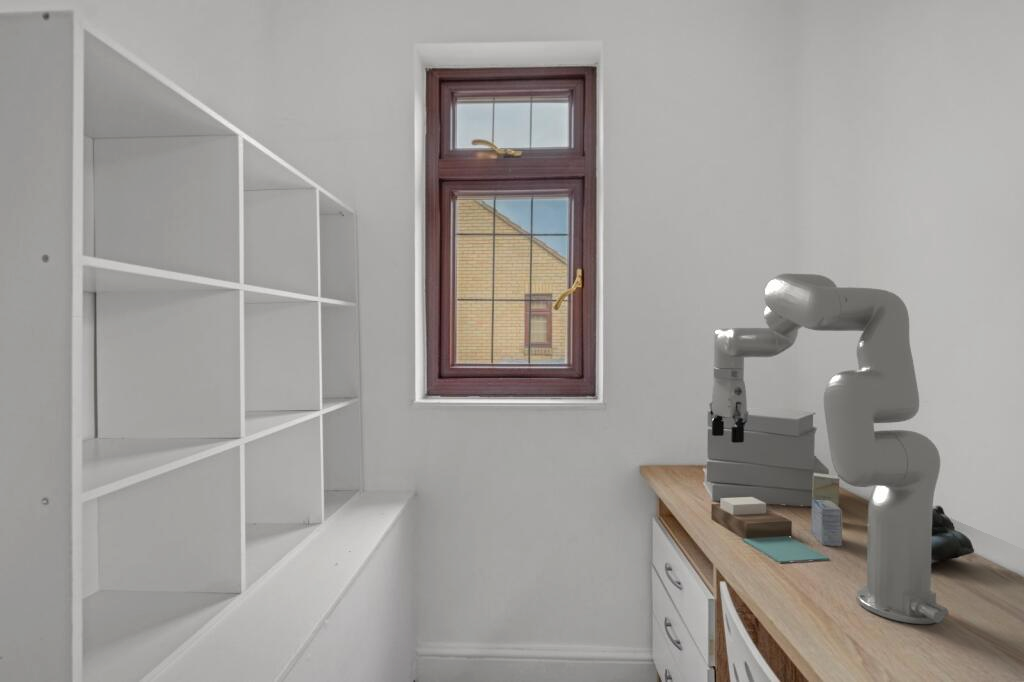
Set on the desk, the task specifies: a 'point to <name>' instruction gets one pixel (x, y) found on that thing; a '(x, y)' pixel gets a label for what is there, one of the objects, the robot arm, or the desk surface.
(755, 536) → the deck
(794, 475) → the book stack
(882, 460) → the robot arm
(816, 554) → the mat
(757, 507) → the white rectangular block
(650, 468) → the desk surface
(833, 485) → the skincare box
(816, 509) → the medicine box
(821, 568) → the desk surface
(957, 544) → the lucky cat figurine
